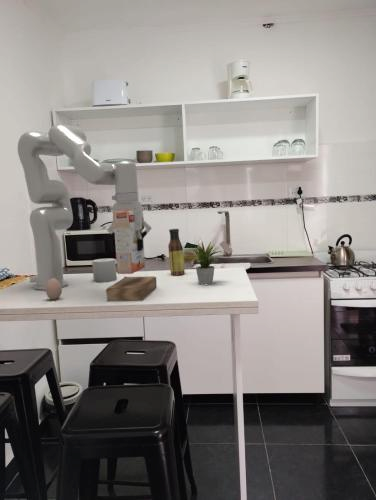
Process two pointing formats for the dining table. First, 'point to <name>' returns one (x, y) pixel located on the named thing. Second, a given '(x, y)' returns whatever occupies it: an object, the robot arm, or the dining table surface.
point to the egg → (53, 289)
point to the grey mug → (104, 270)
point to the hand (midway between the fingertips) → (130, 250)
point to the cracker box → (127, 244)
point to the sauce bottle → (176, 253)
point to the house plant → (205, 264)
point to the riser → (131, 289)
